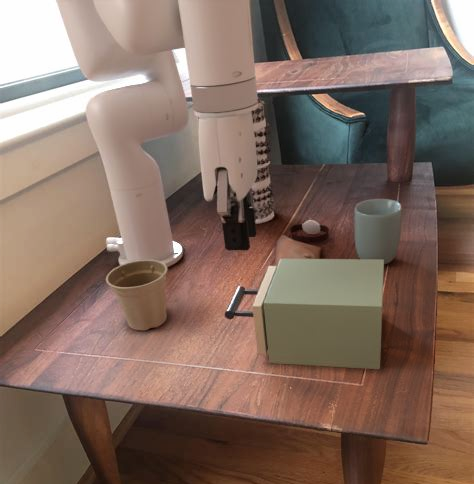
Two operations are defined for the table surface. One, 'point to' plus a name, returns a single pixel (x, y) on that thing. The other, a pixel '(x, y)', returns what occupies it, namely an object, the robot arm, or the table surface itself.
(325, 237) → the watch
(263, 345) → the drawer
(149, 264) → the flower pot
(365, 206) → the cup
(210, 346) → the table surface
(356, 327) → the cabinet
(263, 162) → the decorative candle
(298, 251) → the sunglasses case
